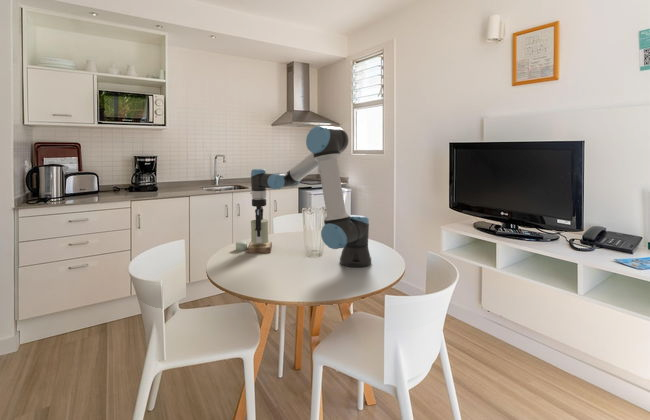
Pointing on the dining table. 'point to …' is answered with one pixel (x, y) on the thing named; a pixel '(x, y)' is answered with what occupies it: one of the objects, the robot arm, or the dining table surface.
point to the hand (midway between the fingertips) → (259, 240)
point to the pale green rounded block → (241, 246)
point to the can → (263, 228)
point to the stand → (259, 248)
